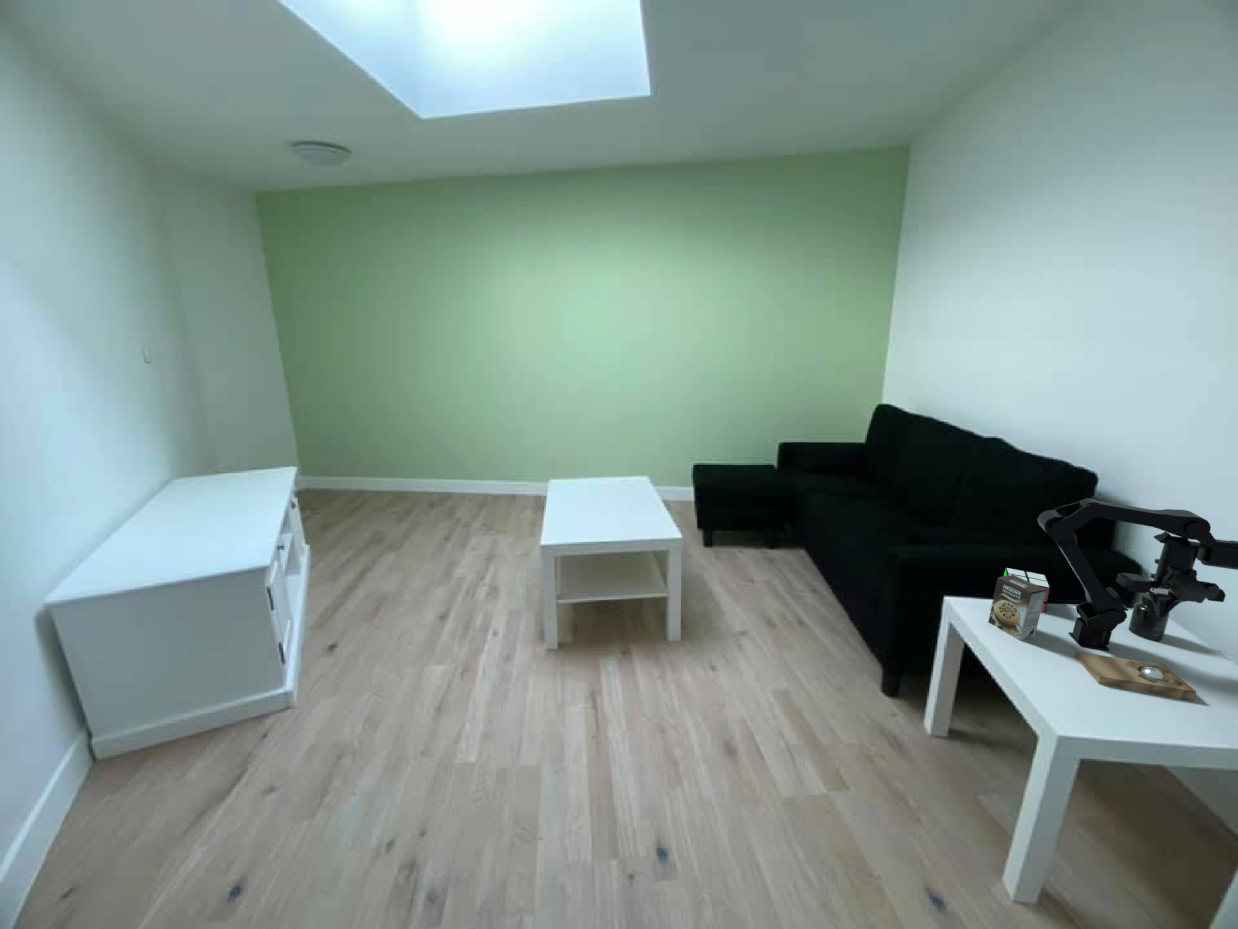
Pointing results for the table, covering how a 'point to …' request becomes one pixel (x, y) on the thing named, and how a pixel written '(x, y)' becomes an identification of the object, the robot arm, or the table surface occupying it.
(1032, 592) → the coffee box
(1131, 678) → the tan hexagonal hole board
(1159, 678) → the ball
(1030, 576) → the puzzle cube
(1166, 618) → the supplement bottle
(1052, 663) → the table surface
